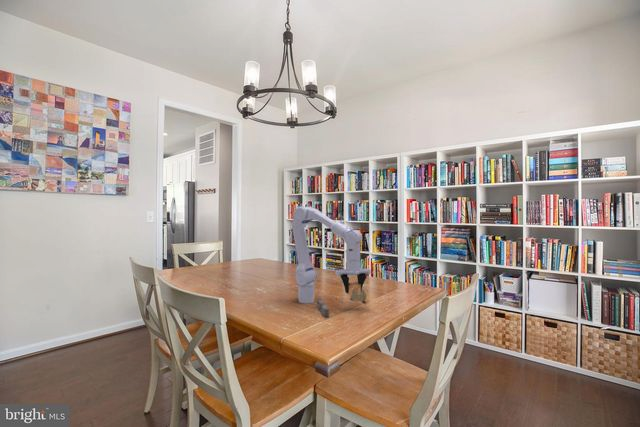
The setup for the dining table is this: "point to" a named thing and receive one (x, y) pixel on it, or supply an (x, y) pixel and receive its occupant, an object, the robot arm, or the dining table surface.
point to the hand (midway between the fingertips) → (353, 292)
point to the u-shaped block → (357, 288)
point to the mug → (358, 296)
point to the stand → (323, 308)
